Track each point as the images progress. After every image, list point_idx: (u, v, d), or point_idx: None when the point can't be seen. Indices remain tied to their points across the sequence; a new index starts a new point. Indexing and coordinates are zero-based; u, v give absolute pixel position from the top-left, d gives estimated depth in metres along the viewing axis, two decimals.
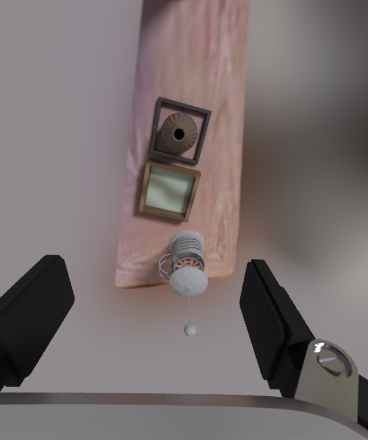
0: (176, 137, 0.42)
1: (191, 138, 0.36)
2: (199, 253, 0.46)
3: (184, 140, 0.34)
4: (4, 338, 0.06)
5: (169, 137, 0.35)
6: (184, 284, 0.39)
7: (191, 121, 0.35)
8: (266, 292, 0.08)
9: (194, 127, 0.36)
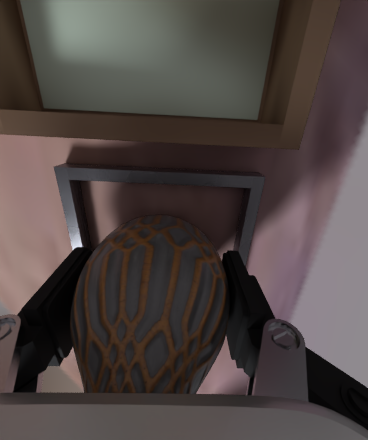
0: None
1: (75, 350, 0.07)
2: None
3: None
4: (51, 319, 0.07)
5: (189, 368, 0.06)
6: None
7: None
8: (235, 279, 0.08)
9: None
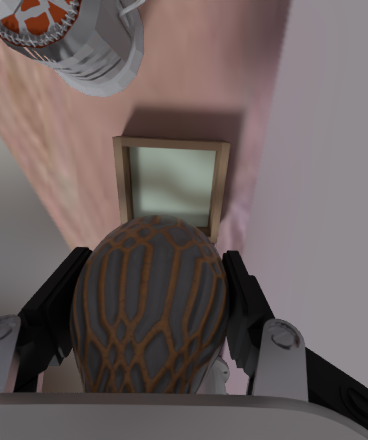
0: None
1: None
2: (23, 53, 0.13)
3: None
4: (51, 319, 0.07)
5: (189, 369, 0.06)
6: None
7: None
8: (235, 279, 0.08)
9: None
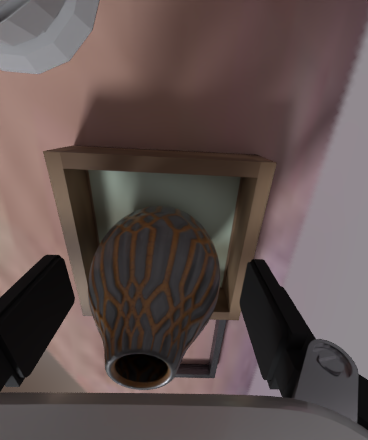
0: None
1: (93, 312, 0.08)
2: None
3: (108, 343, 0.07)
4: (4, 338, 0.06)
5: (184, 321, 0.07)
6: None
7: None
8: (266, 292, 0.08)
9: None
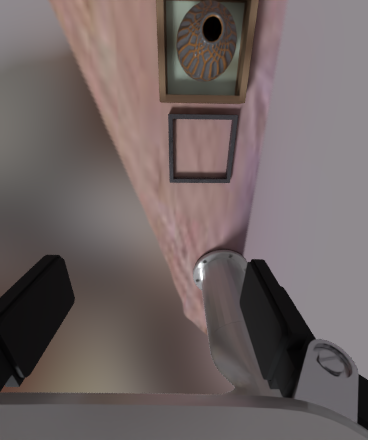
0: None
1: (186, 33, 0.20)
2: None
3: (200, 20, 0.19)
4: (4, 338, 0.06)
5: (226, 20, 0.19)
6: None
7: (192, 67, 0.22)
8: (266, 292, 0.08)
9: (185, 58, 0.22)
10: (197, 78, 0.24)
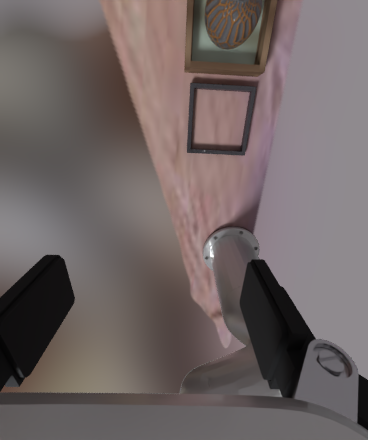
0: None
1: None
2: None
3: None
4: (4, 338, 0.06)
5: None
6: None
7: (219, 29, 0.24)
8: (266, 292, 0.08)
9: (214, 20, 0.24)
10: (222, 43, 0.26)
